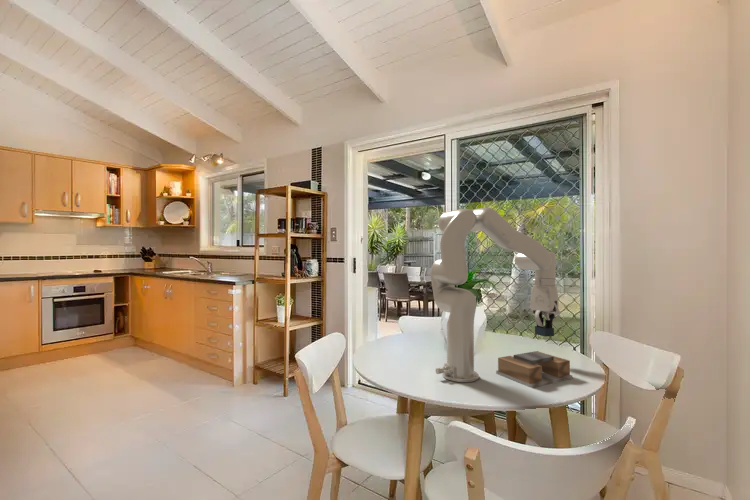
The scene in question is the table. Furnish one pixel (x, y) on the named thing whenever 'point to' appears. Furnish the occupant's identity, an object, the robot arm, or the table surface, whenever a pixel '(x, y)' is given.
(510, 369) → the watch stand
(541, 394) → the table surface
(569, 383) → the table surface
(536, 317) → the watch
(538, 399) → the table surface
